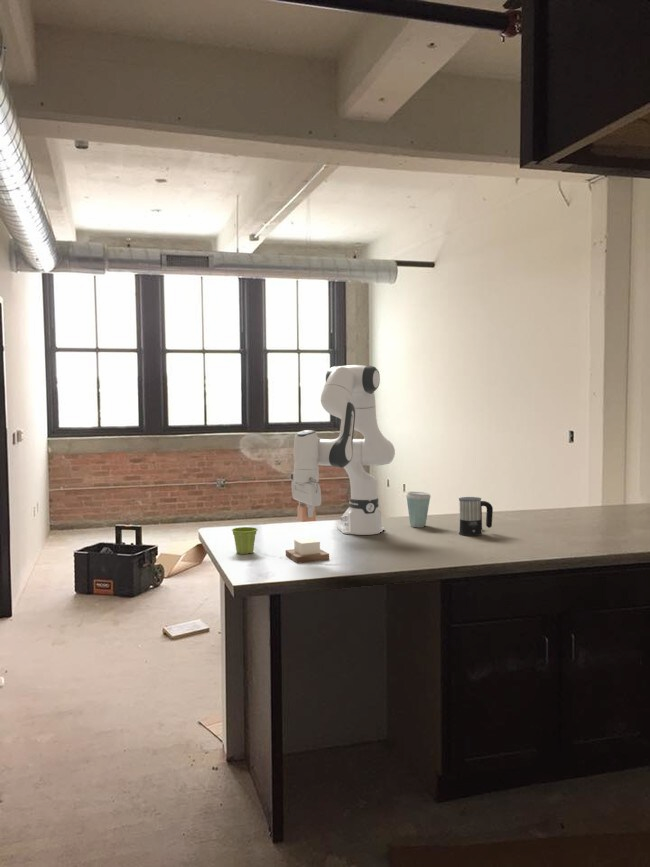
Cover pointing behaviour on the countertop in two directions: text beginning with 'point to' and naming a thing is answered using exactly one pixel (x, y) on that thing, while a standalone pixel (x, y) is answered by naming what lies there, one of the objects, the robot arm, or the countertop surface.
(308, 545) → the cream block
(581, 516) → the countertop surface
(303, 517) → the terracotta cube
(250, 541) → the plant pot
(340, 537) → the countertop surface
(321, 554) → the walnut base
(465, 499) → the milk frother
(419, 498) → the disposable coffee cup
